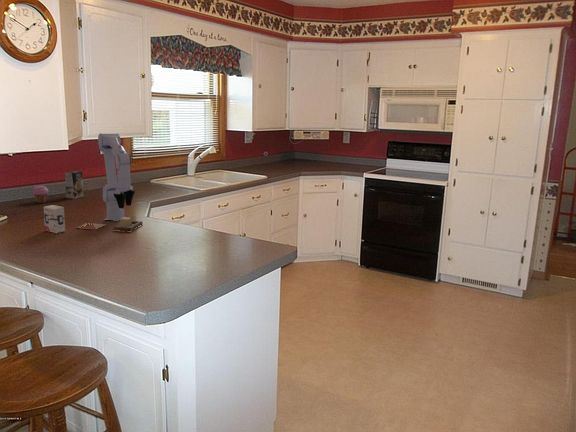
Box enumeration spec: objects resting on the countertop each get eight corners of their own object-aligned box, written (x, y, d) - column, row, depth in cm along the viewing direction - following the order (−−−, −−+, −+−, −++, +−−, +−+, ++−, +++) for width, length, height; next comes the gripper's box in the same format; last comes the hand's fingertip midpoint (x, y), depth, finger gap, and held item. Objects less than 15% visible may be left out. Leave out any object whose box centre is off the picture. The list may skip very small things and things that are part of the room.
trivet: (86, 224, 233) (86, 223, 233) (106, 225, 232) (106, 224, 232) (75, 229, 223) (75, 227, 223) (96, 230, 222) (96, 229, 222)
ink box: (44, 231, 217) (42, 206, 215) (54, 229, 221) (52, 204, 219) (56, 234, 213) (54, 208, 211) (66, 232, 217) (64, 207, 215)
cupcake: (48, 203, 276) (47, 186, 274) (31, 204, 273) (30, 186, 271) (50, 200, 284) (48, 184, 282) (33, 201, 281) (32, 184, 279)
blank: (123, 227, 231) (123, 217, 230) (131, 227, 231) (131, 217, 230) (120, 228, 228) (119, 218, 226) (128, 229, 227) (127, 219, 226)
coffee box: (75, 198, 293) (73, 172, 290) (65, 198, 295) (64, 172, 291) (84, 196, 302) (82, 171, 299) (75, 195, 303) (73, 170, 300)
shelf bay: (126, 224, 237) (126, 220, 236) (142, 225, 236) (142, 221, 235) (113, 231, 223) (113, 227, 222) (129, 232, 222) (129, 228, 221)
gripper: (125, 180, 217) (126, 210, 219) (138, 177, 231) (139, 204, 234) (110, 180, 217) (111, 209, 220) (124, 176, 232) (125, 203, 234)
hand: (125, 206), depth 227 cm, fingers open, 7 cm apart
